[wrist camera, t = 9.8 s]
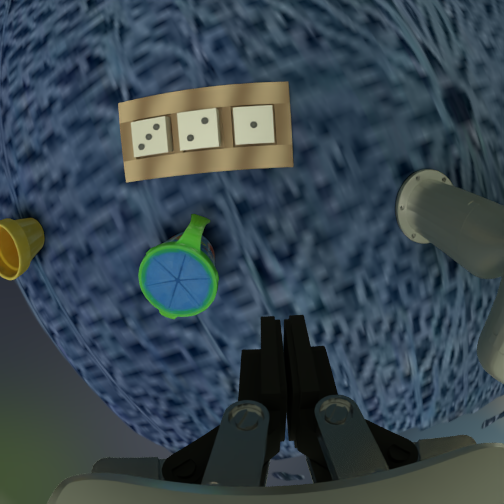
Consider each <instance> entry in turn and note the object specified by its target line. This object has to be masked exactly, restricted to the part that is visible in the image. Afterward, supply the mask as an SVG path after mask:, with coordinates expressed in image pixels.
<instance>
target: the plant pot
mask: <svg viewBox="0 0 504 504" xmlns="http://www.w3.org/2000/svg"><path fill="white" fill-rule="evenodd" d="M44 240H45V237H44V231H43V228H42V226H41V225H40V223H39V222H38V221H37V220H35V219H34V218H25V219H18V220H13V219H3V220H0V276H2V277H3V278H5V279H7V280H14V279H16V278H17V277H19V276H20V275H21V274H23V273H24V272H25V271H26V270H27V269H28V267H29V265H30V261H31V260H32V259H33V258H34V256H35V255H36V254H37V253H38V252H39V251H40V249H41V248H42V247H43V245H44Z"/></svg>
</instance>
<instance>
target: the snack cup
mask: <svg viewBox="0 0 504 504" xmlns="http://www.w3.org/2000/svg"><path fill="white" fill-rule="evenodd" d="M208 223H210V220H209V219H207V218H205V217H202V216H199V215H196V214H191V222H190V224H189V226H188V227H187V228H186V230H185V232H182V233H179V234H177V235H175V236H173V237H172V238H170V239H169V240H168V241H166V242H165V243H162V244H160V245H158V246H156V247H153V248H151V249H150V250H149V251H148V252H147V253H146V256H145V257H144V259H143V261H142V263H141V265H140V268H139V284H140V287H141V290H142V292H143V294H144V295H145V297H146V298H147V299H148V301H149V302H150V303H151V304H152V305H153V306H154V307H156V308H157V309H159V312H160V314H161V315H163V316H165V317H168V318H171V319H175V318H176V317H177V316H180V317H186V316H193V315H196V314H199V313H200V312H202V311H205V310H206V309H207V308H208V307H209V306H210V304H211V303H212V302H213V300H214V299H215V296H216V293H217V289H218V280H219V276H218V272H217V270H216V268H215V255H214V250H213V247H212V245H211V244H210V242H209V241H208V240H207V239H206V238H205V237H204V236H203V235H202V233H203V231H204V228H205V225H206V224H208Z"/></svg>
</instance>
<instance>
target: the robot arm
mask: <svg viewBox="0 0 504 504" xmlns="http://www.w3.org/2000/svg"><path fill="white" fill-rule="evenodd" d="M400 206H401V207H400ZM395 209H396V218H397V222H398V225H399V227H400V229H401V230H402V232H403V233H404V234H405V235H406V236H407V237H408V238H409V239H411V240H412V241H415V242H417V243H422V244H423V243H430V242H431V243H432V244H433V245H435V246H436V247H438V248H439V249H440V250H442V251H443V252H444V253H446V254H447V255H448V256H449V257H451V258H452V259H453V260H455V261H456V262H457V263H459V264H460V265H461V266H462V267H464V268H465V269H466V270H468V271H469V272H470V273H471V274H473V275H475V276H477V277H479V278H483V279H493V278H497V277H501V276H502V279H501V282H500V286H499V289H498V293H497V296H496V298H495V301H494V303H493V306H492V308H491V311H490V313H489V316H488V318H487V320H486V323H485V325H484V327H483V329H482V332H481V334H480V337H479V340H478V344H477V356H478V359H479V362H480V364H481V365H482V367H483V368H484V369H485V370H486V371H487V372H488V373H489V374H490V375H491V376H492V377H494V378H495V379H496V380H498V381H500V382H501V383H503V384H504V206H503V205H500V204H498V203H495V202H493V201H491V200H488V199H486V198H483V197H481V196H478V195H476V194H473V193H471V192H468V191H465V190H463V189H460V188H457V187H454V186H453V185H452V183H451V181H450V180H449V179H448V178H447V177H446V176H445V175H444V174H443V173H441V172H439V171H436V170H432V169H423V170H419V171H417V172H415V173H413V174H412V175H411V176H409V177H408V178H407V180H406V181H405V182H404V183H403V185H402V186H401V188H400V191H399V193H398V196H397V200H396V208H395ZM286 412H287V424H288V437H289V441H294V443H295V448H297V449H298V451H300V452H301V453H303V454H304V455H306V461H307V464H308V468H309V471H310V474H311V477H312V480H313V484H303V485H291V486H274V487H273V486H272V487H265V486H266V481H267V475H268V470H269V464H270V459H271V458H272V457H274V456H275V455H276V454H277V453H278V452H279V451H280V441H284V440H285V426H286ZM47 504H504V444H502V443H481V444H476V442H475V440H474V439H473V438H472V437H469V436H467V435H458V436H451V437H443V438H434V439H422V440H419V441H418V442H411V441H410V440H408V439H406V438H404V437H402V436H399V435H397V434H395V433H393V432H391V431H389V430H387V429H384V428H382V427H380V426H378V425H376V424H374V423H372V422H370V421H368V420H366V419H364V417H363V415H362V413H361V411H360V409H359V407H358V405H357V404H356V403H355V401H353V400H352V399H351V398H349V397H346V396H344V395H338V393H337V389H336V386H335V382H334V378H333V374H332V371H331V367H330V363H329V359H328V356H327V352H326V349H325V347H324V346H315V347H311V346H310V341H309V337H308V333H307V328H306V324H305V319H304V315H292V316H289V319H284V352H283V343H282V333H281V324H280V320H275V317H274V316H268V317H261V349H252V350H242V354H241V368H240V382H239V397H238V402H235V403H233V404H231V405H230V406H229V407H228V408H227V409H226V410H225V412H224V414H223V417H222V420H221V424H220V425H219V426H217V427H216V428H214V429H213V430H211V431H210V432H208V433H207V434H205V435H204V436H202V437H200V438H199V439H197V440H196V441H194V442H192V443H191V444H189V445H188V446H186V447H184V448H183V449H181V450H179V451H178V452H176V453H174V454H172V455H171V456H170V457H169V458H167V459H158V457H144V458H113V457H112V458H111V457H108V458H102V459H100V460H98V461H97V462H96V463H95V464H94V465H93V468H92V472H91V473H86V474H79V475H74V476H71V477H68V478H66V479H64V480H63V481H62V482H61V483H60V484H59V485H58V486H57V487H56V489H55V490H54V492H53V493H52V495H51V497H50V499H49V500H48V503H47Z"/></svg>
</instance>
